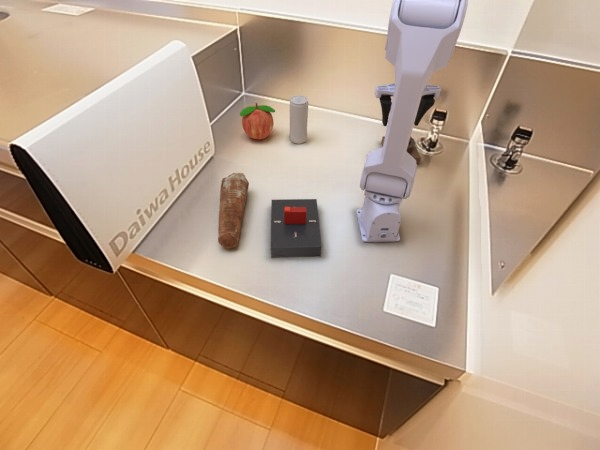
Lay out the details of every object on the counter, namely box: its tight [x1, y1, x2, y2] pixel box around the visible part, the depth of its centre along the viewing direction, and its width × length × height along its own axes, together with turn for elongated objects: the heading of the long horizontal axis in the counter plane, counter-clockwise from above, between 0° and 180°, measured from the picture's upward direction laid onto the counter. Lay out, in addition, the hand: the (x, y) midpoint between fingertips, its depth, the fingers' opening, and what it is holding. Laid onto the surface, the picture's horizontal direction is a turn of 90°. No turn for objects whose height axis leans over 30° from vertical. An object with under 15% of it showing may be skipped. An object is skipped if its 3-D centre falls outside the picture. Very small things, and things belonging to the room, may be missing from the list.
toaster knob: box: [284, 207, 306, 224], centre depth 75 cm, size 4×1×4 cm, turn 92°
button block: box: [380, 135, 422, 166], centre depth 98 cm, size 10×8×4 cm
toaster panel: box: [270, 198, 323, 258], centre depth 78 cm, size 14×10×3 cm
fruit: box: [239, 102, 276, 140], centre depth 101 cm, size 9×10×10 cm
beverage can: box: [289, 94, 309, 144], centre depth 99 cm, size 5×5×12 cm
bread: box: [217, 172, 250, 249], centre depth 79 cm, size 6×19×6 cm, turn 0°
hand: (399, 123), depth 90 cm, fingers open, 7 cm apart
